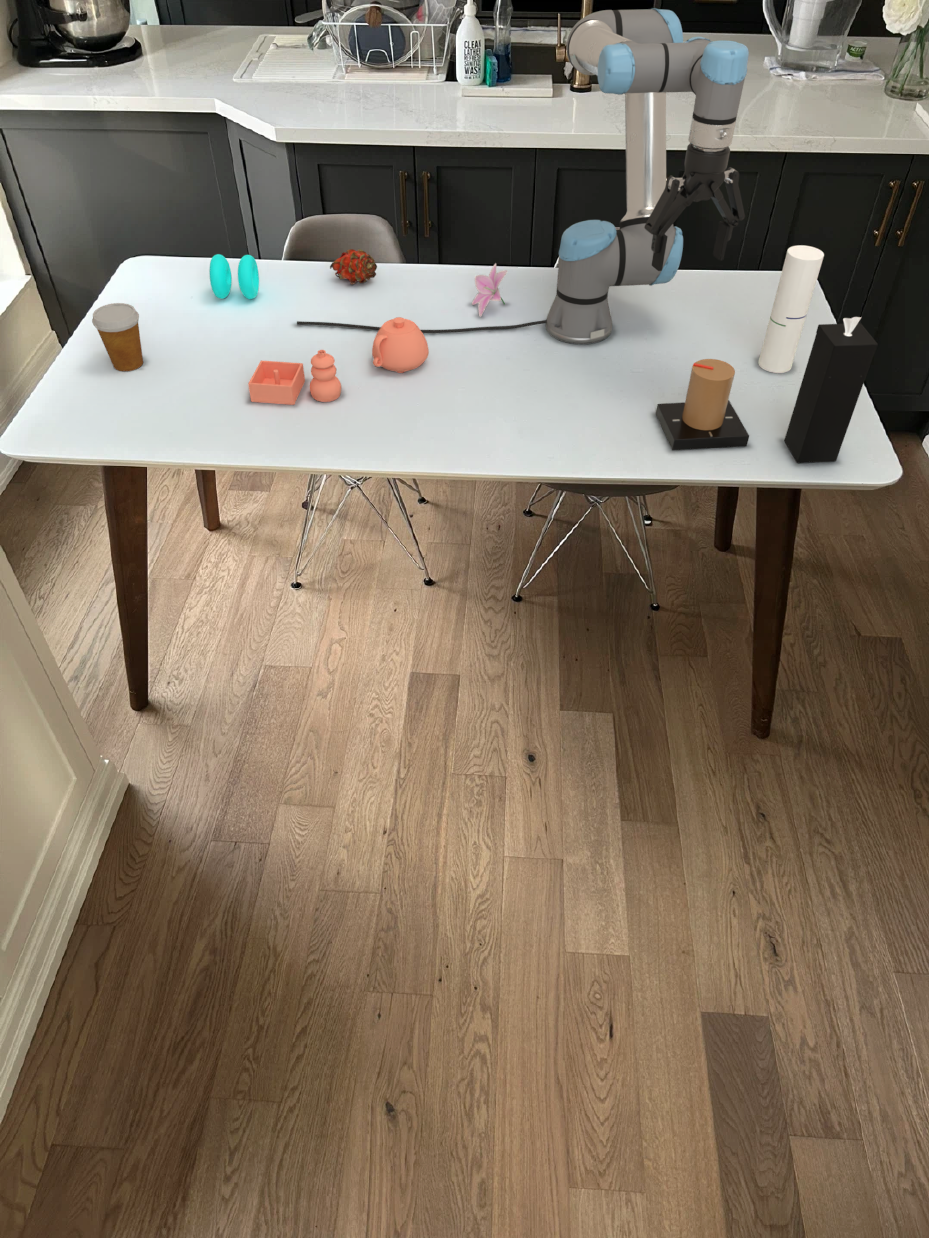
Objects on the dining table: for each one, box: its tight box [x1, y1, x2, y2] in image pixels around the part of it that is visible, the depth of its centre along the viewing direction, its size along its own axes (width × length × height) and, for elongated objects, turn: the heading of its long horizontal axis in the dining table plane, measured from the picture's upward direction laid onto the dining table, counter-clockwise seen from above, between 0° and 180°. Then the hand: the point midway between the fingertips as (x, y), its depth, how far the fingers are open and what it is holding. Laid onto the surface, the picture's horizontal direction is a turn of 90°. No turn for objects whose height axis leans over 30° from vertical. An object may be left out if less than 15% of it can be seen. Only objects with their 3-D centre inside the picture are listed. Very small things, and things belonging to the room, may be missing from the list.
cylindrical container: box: [757, 244, 825, 374], centre depth 194 cm, size 7×7×25 cm
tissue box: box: [783, 316, 879, 464], centre depth 169 cm, size 8×8×28 cm
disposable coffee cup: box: [91, 302, 144, 372], centre depth 196 cm, size 10×10×12 cm
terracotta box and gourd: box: [247, 349, 342, 406], centre depth 189 cm, size 18×10×10 cm, turn 83°
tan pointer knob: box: [682, 358, 736, 430], centre depth 178 cm, size 8×8×11 cm
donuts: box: [209, 253, 260, 300], centre depth 220 cm, size 10×10×10 cm
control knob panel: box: [655, 399, 750, 451], centre depth 183 cm, size 15×13×3 cm
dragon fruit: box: [329, 248, 378, 286], centre depth 228 cm, size 8×8×12 cm
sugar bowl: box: [371, 316, 430, 374], centre depth 198 cm, size 12×14×10 cm
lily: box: [471, 262, 508, 318], centre depth 218 cm, size 12×12×10 cm
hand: (687, 263), depth 177 cm, fingers open, 13 cm apart
